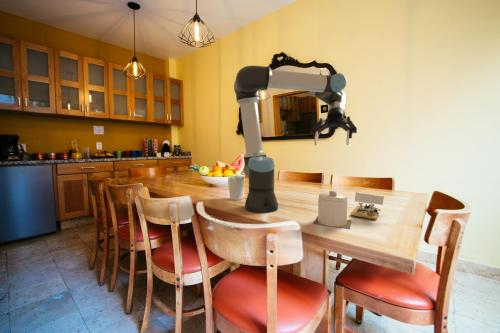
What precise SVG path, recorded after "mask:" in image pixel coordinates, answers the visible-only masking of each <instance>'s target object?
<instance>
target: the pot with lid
mask: <svg viewBox="0 0 500 333" xmlns="http://www.w3.org/2000/svg"><path fill="white" fill-rule="evenodd" d="M317 203H318V204H317V205H318V208H317V210H318V211H317V216H318V222H319V223H321V224H323V225H326V226H325V227H329V226H333V227H332V228H337V227H342V226H345V225H346V224H347V220H348V196H347V195H345V194H342V193H338V192H337V191H336V190H329V191H328V192H323V193H320V194H318V202H317Z"/></svg>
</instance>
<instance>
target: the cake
mask: <svg viewBox="0 0 500 333" xmlns="http://www.w3.org/2000/svg"><path fill="white" fill-rule="evenodd" d="M384 198H385V196H384V195H377V194H376V195H375V194H369V193H364V192H363V193H361V192H355V196H354V202H357V203H358V205H357V206H356V207H355V208H354V209H352V210H351V212H350V216H355V217H359V218H363V219H369V220H377V218H378V217H379V212H381V210H382V209H381V208H378V207H374V206H375V205H381V206H383V205H384ZM364 204H365V205H364Z"/></svg>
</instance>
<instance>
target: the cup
mask: <svg viewBox="0 0 500 333" xmlns="http://www.w3.org/2000/svg"><path fill="white" fill-rule="evenodd" d="M227 184H228V191H229V192H228V193H229V197H230V200H231V201H240V200H243V199H244V198H243V197H244V190H245V184H246V182H245V176H242V175H231V176H228V178H227Z"/></svg>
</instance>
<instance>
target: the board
mask: <svg viewBox="0 0 500 333" xmlns="http://www.w3.org/2000/svg"><path fill="white" fill-rule="evenodd" d="M312 225H316V226H323V227H327V226H326V225H323V224H321V223H319V222H318V215H317V216H316V218H315V219H314V221H313V223H312ZM351 225H352V220H351V219H347V224H346V225H345V226H342V227H336V228H338V229H346V230H351ZM328 227H331V228H334V227H333V226H328Z"/></svg>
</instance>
